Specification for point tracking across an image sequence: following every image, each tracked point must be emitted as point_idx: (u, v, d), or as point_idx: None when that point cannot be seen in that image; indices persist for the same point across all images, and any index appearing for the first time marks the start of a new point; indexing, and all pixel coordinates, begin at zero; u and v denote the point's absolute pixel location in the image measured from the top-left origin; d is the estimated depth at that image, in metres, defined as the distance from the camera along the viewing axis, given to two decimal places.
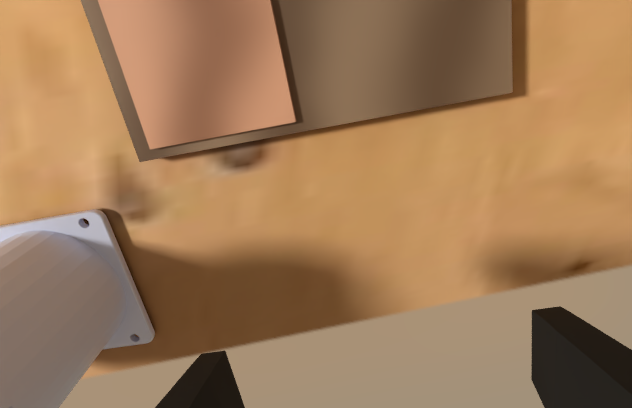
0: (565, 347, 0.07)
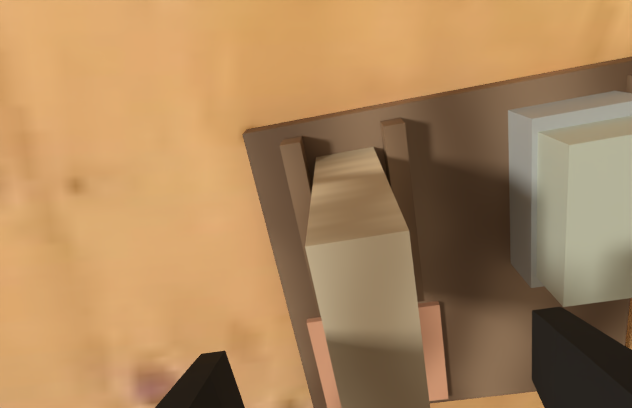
0: (565, 347, 0.07)
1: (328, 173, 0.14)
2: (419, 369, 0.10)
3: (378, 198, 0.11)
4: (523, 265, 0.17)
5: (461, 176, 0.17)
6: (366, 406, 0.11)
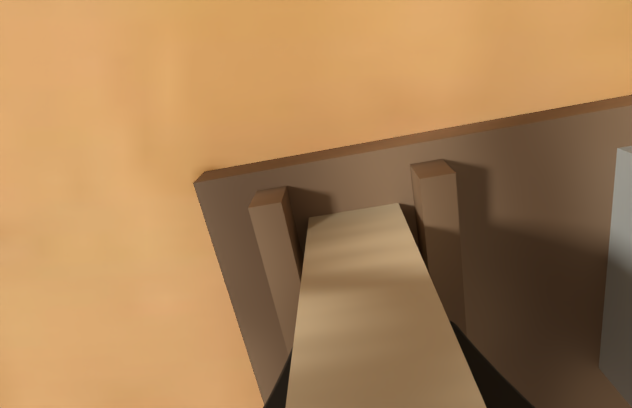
0: None
1: (328, 265, 0.08)
2: None
3: (436, 373, 0.05)
4: (630, 385, 0.11)
5: (534, 247, 0.11)
6: None
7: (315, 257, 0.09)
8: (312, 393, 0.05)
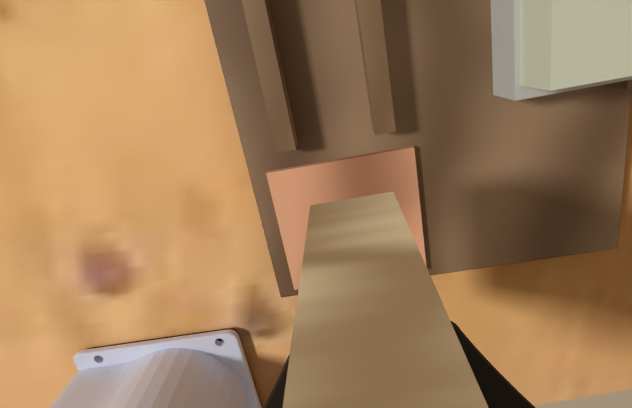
0: None
1: (327, 243, 0.09)
2: None
3: (420, 323, 0.06)
4: (506, 80, 0.15)
5: None
6: None
7: (316, 237, 0.09)
8: (313, 341, 0.06)
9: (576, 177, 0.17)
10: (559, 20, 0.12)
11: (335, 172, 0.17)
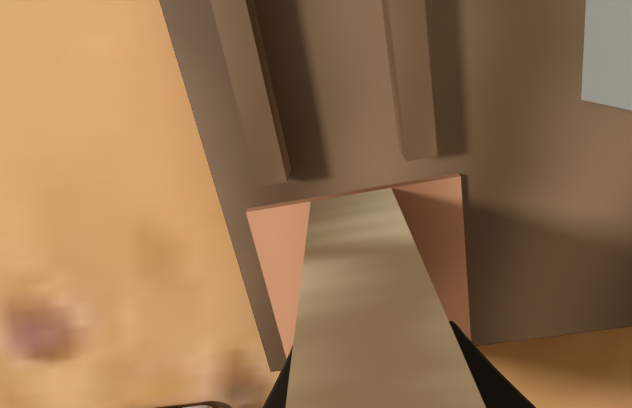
0: None
1: (327, 238, 0.09)
2: None
3: (415, 313, 0.06)
4: (614, 78, 0.09)
5: None
6: None
7: (316, 232, 0.10)
8: (315, 330, 0.06)
9: None
10: None
11: None
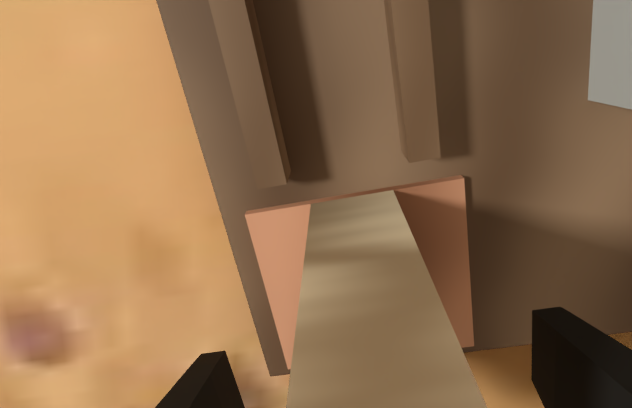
0: (565, 347, 0.07)
1: (328, 242, 0.09)
2: None
3: (420, 323, 0.06)
4: (623, 78, 0.09)
5: None
6: None
7: (317, 236, 0.10)
8: (315, 340, 0.06)
9: None
10: None
11: None
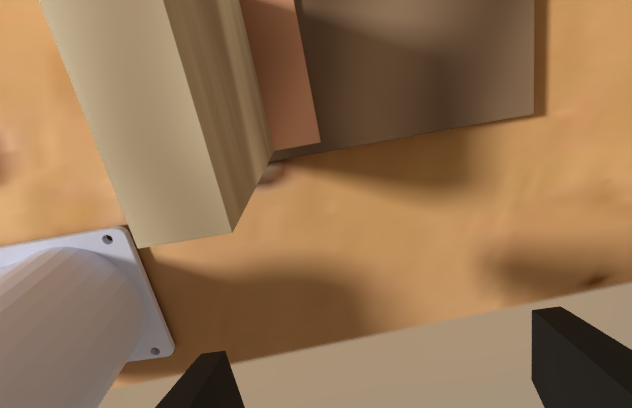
0: (565, 347, 0.07)
1: None
2: (201, 157, 0.09)
3: None
4: None
5: None
6: (151, 212, 0.09)
7: None
8: None
9: (480, 23, 0.15)
10: None
11: None
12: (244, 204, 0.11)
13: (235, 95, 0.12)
